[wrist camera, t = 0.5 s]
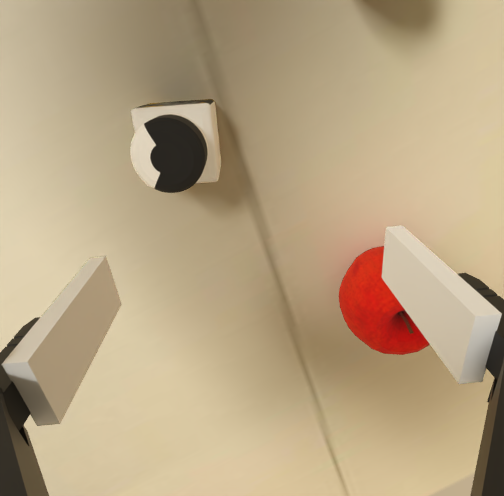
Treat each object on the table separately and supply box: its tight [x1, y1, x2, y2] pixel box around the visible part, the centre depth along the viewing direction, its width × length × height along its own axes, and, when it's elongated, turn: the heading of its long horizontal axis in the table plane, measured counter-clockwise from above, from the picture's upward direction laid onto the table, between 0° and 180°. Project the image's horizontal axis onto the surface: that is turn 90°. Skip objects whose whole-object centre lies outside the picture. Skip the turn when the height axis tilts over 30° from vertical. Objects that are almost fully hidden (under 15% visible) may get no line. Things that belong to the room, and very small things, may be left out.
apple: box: [339, 246, 429, 355], centre depth 40 cm, size 12×12×13 cm
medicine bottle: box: [130, 99, 221, 193], centre depth 32 cm, size 7×7×12 cm
